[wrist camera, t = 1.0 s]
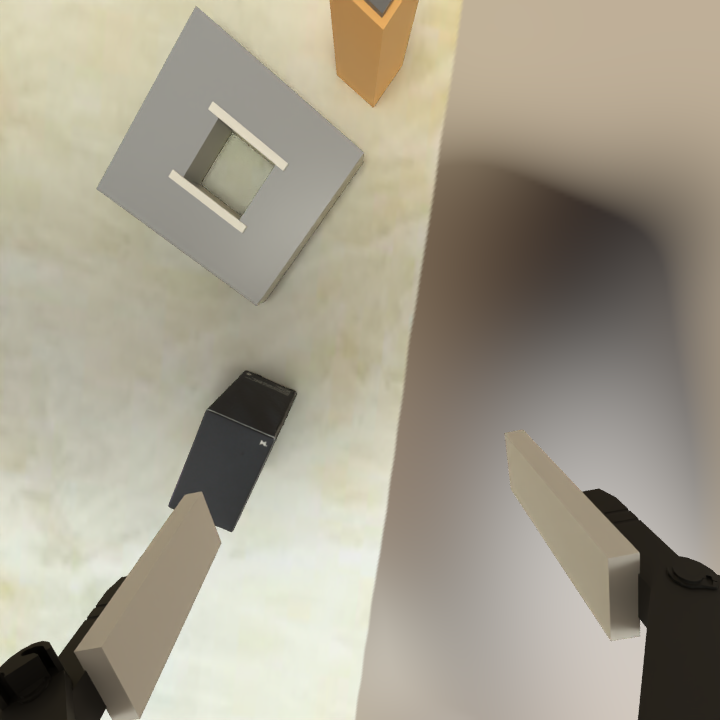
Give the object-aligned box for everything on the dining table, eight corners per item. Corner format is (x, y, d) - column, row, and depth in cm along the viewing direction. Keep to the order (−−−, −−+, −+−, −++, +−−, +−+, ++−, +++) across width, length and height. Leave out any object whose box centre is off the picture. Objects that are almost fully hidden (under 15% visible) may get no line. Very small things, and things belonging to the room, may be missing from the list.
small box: (241, 366, 40) (203, 405, 29) (298, 391, 40) (280, 437, 30) (208, 447, 42) (162, 508, 32) (262, 469, 43) (234, 535, 33)
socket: (121, 194, 35) (93, 188, 31) (212, 32, 31) (194, 3, 28) (265, 301, 38) (255, 306, 34) (363, 162, 34) (364, 151, 31)
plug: (337, 74, 32) (326, -29, 20) (365, 31, 32) (372, -104, 20) (373, 107, 33) (383, 25, 21) (402, 65, 32) (429, -44, 20)
